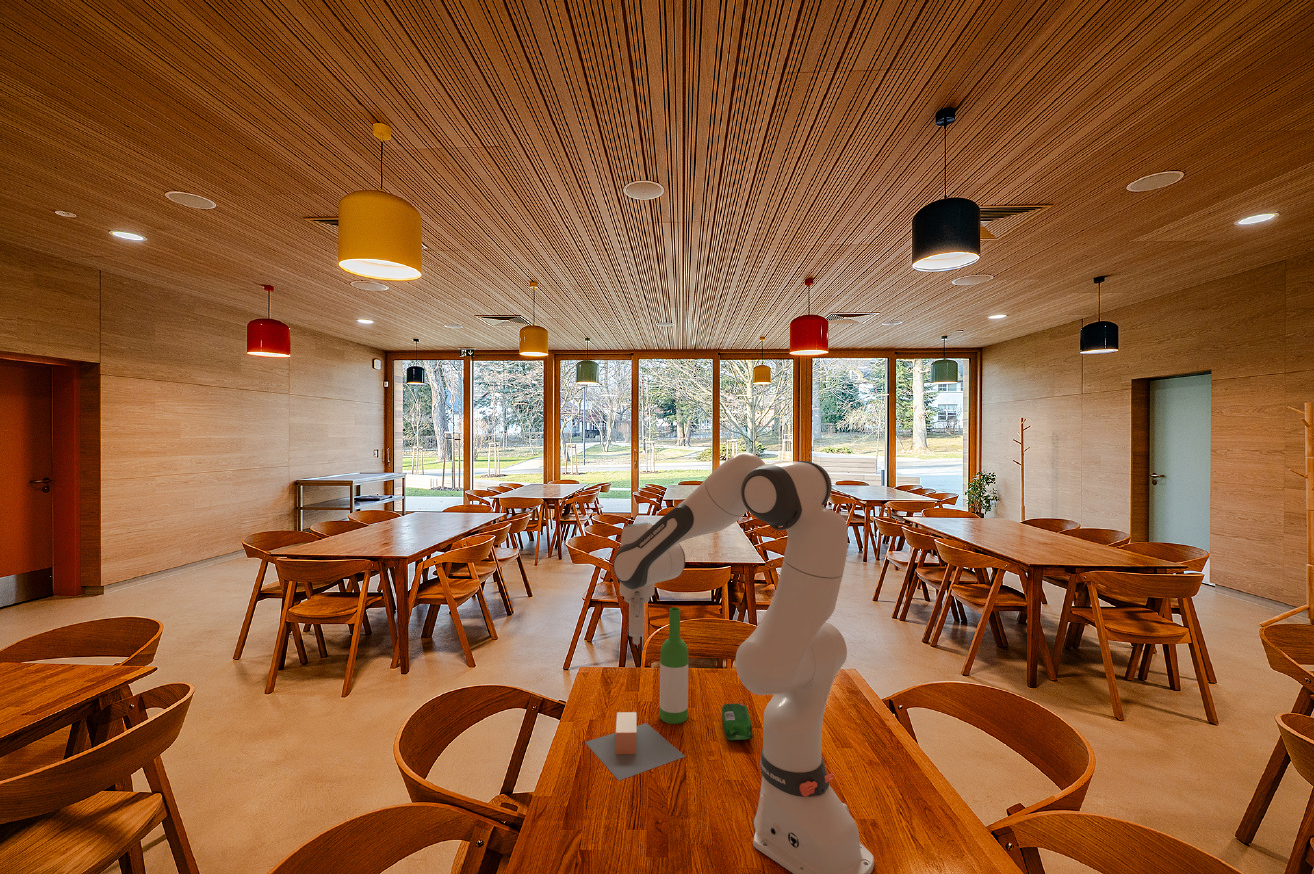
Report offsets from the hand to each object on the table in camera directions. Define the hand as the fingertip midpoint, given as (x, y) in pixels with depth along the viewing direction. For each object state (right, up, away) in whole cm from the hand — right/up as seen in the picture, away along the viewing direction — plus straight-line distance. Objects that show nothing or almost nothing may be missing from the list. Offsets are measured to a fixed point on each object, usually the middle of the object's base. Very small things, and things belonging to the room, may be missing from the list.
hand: (636, 642), depth 134 cm
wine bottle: (+10, -26, +12) cm, 30 cm away
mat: (0, -25, -4) cm, 25 cm away
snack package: (+26, -26, +6) cm, 37 cm away
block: (-2, -22, -6) cm, 23 cm away
